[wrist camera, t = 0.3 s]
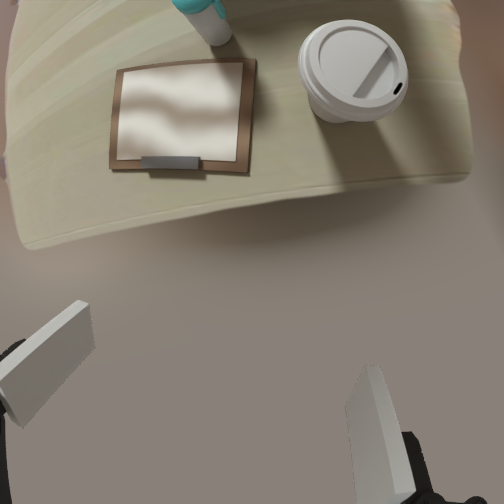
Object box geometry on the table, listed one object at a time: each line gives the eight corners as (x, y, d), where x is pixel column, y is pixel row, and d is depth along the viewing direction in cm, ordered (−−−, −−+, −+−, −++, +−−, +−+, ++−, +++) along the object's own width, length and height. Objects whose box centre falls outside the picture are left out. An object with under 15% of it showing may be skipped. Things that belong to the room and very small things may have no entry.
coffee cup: (324, 149, 34) (347, 140, 20) (280, 87, 32) (272, 42, 18) (385, 113, 32) (437, 88, 17) (341, 53, 30) (366, -3, 16)
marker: (207, 27, 31) (174, -17, 19) (238, 26, 30) (215, -22, 18) (204, 50, 32) (169, 11, 20) (235, 49, 31) (211, 6, 19)
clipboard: (119, 70, 34) (113, 68, 32) (256, 60, 32) (254, 56, 30) (111, 168, 38) (105, 169, 37) (247, 172, 36) (245, 172, 35)
